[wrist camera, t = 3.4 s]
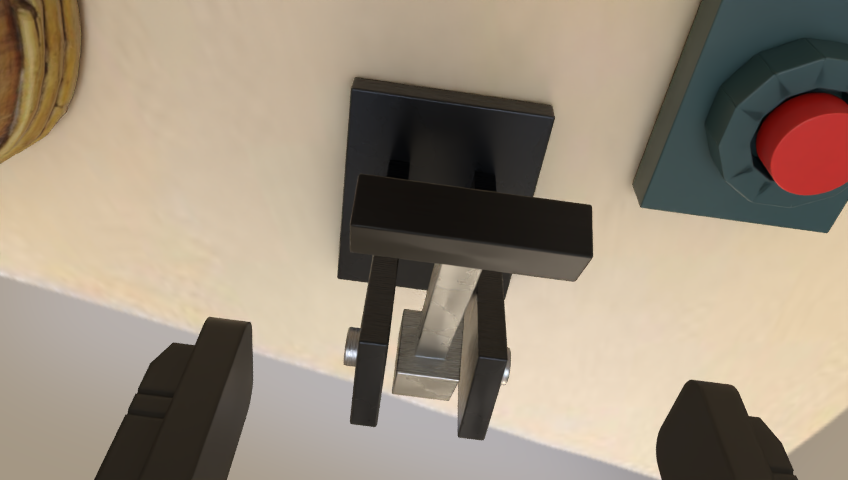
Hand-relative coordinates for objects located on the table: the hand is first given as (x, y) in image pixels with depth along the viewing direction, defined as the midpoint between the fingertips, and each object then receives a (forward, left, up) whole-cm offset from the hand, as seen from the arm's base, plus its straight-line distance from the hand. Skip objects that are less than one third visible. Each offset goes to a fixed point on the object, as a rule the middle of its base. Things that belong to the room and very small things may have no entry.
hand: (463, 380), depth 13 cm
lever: (+3, +3, -8) cm, 9 cm away
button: (-7, +12, -16) cm, 22 cm away
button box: (-7, +12, -20) cm, 24 cm away
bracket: (+7, +5, -20) cm, 22 cm away
